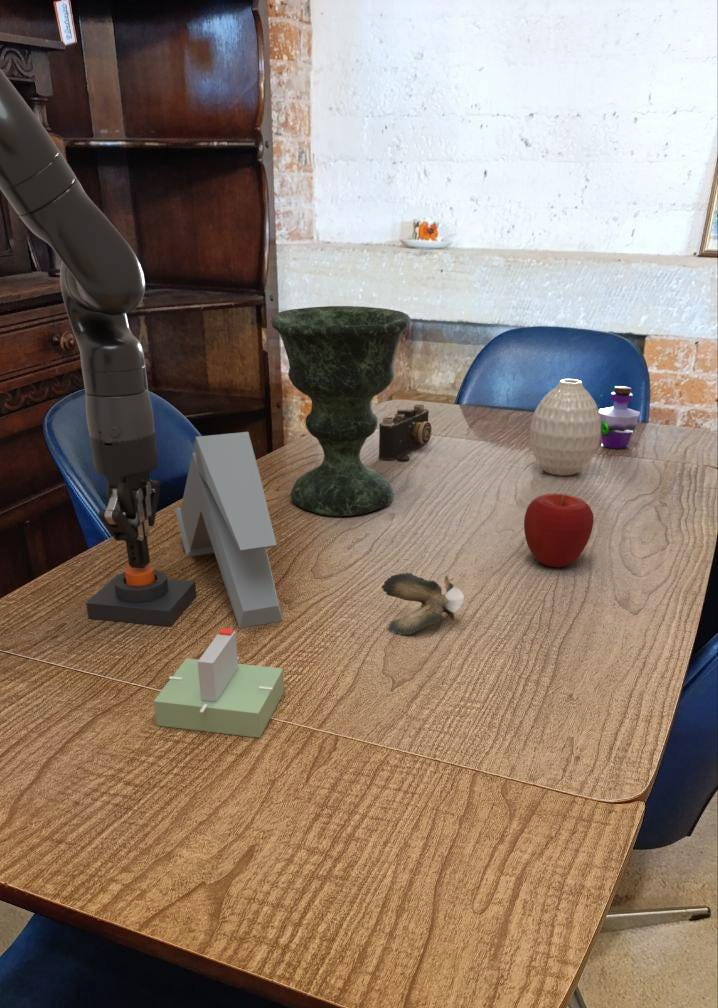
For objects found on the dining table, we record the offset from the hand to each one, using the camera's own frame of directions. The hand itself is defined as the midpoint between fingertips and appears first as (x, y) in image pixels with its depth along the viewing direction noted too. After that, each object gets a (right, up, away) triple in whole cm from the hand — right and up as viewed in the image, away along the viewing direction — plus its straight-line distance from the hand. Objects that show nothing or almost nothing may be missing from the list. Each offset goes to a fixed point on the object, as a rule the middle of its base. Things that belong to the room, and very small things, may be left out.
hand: (139, 565), depth 111 cm
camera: (+38, +29, +66) cm, 82 cm away
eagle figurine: (+36, -7, -1) cm, 36 cm away
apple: (+56, +2, +16) cm, 58 cm away
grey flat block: (+13, -14, -20) cm, 28 cm away
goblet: (+25, +15, +41) cm, 50 cm away
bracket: (+10, -1, +11) cm, 15 cm away
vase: (+66, +22, +55) cm, 89 cm away
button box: (0, -5, +3) cm, 6 cm away
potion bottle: (+81, +31, +71) cm, 111 cm away
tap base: (+13, -17, -18) cm, 28 cm away
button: (0, -2, +1) cm, 2 cm away
